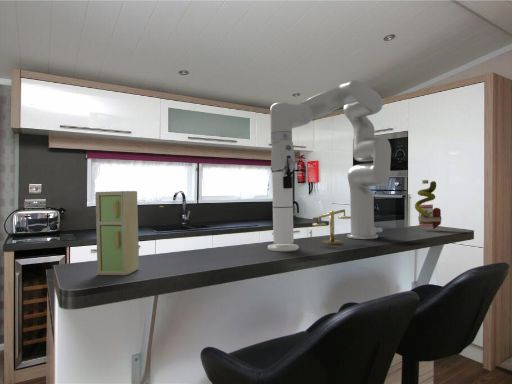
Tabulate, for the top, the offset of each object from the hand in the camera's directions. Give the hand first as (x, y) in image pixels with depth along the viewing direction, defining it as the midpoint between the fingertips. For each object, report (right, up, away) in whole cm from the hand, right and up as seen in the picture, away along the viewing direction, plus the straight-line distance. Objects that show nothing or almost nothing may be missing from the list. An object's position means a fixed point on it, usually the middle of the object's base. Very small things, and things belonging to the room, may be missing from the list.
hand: (282, 188), depth 114 cm
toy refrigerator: (-45, -22, -32) cm, 59 cm away
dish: (0, -22, 0) cm, 22 cm away
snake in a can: (+76, -21, +44) cm, 90 cm away
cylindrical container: (0, -19, 0) cm, 19 cm away
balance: (+20, -21, +9) cm, 31 cm away
